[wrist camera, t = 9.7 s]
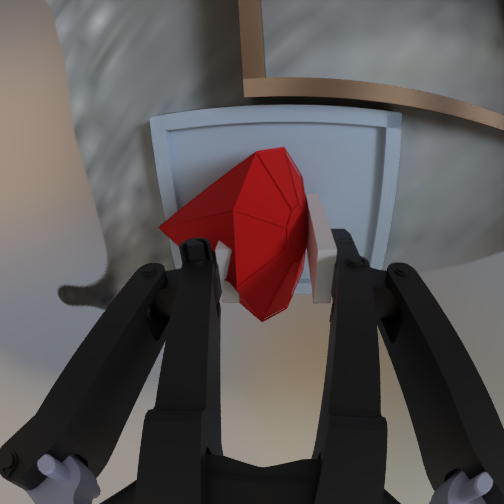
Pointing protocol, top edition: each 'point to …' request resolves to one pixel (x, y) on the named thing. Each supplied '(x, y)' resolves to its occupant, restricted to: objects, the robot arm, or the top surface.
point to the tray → (302, 153)
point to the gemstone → (253, 228)
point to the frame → (336, 80)
